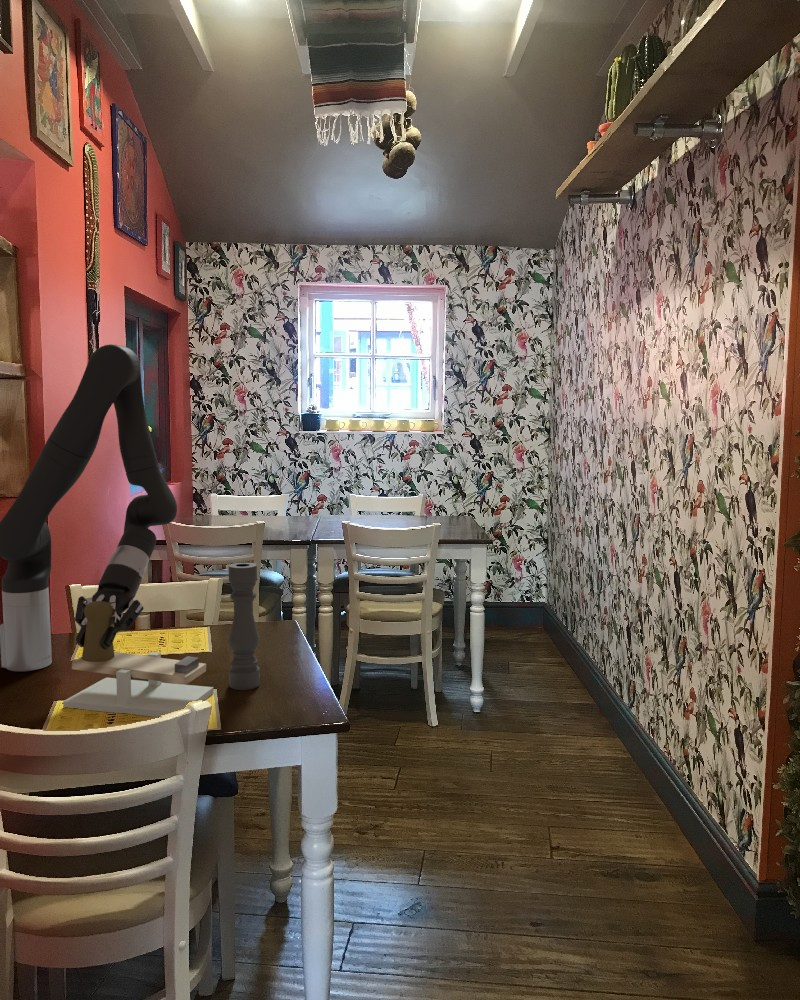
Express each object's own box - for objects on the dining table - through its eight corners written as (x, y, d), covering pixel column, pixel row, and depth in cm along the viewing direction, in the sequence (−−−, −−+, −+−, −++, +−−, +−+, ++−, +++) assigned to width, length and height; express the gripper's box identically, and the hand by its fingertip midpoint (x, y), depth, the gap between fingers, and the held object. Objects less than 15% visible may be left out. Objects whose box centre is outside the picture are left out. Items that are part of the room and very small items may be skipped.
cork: (103, 663, 152) (103, 607, 151) (75, 660, 154) (75, 604, 152) (120, 654, 158) (121, 600, 157) (93, 650, 159) (93, 597, 158)
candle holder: (230, 691, 160) (228, 568, 157) (228, 681, 166) (226, 563, 163) (261, 688, 162) (259, 567, 159) (258, 678, 167) (256, 561, 165)
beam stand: (63, 707, 151) (61, 668, 150) (106, 683, 164) (105, 647, 163) (178, 719, 145) (177, 678, 144) (213, 693, 159) (212, 656, 158)
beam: (71, 673, 153) (71, 653, 152) (96, 660, 161) (96, 641, 160) (186, 688, 148) (186, 668, 147) (205, 675, 155) (206, 655, 155)
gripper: (85, 560, 163) (49, 634, 152) (148, 564, 160) (116, 639, 149) (101, 580, 168) (68, 653, 158) (163, 584, 165) (133, 658, 155)
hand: (92, 646), depth 154 cm, fingers open, 4 cm apart
